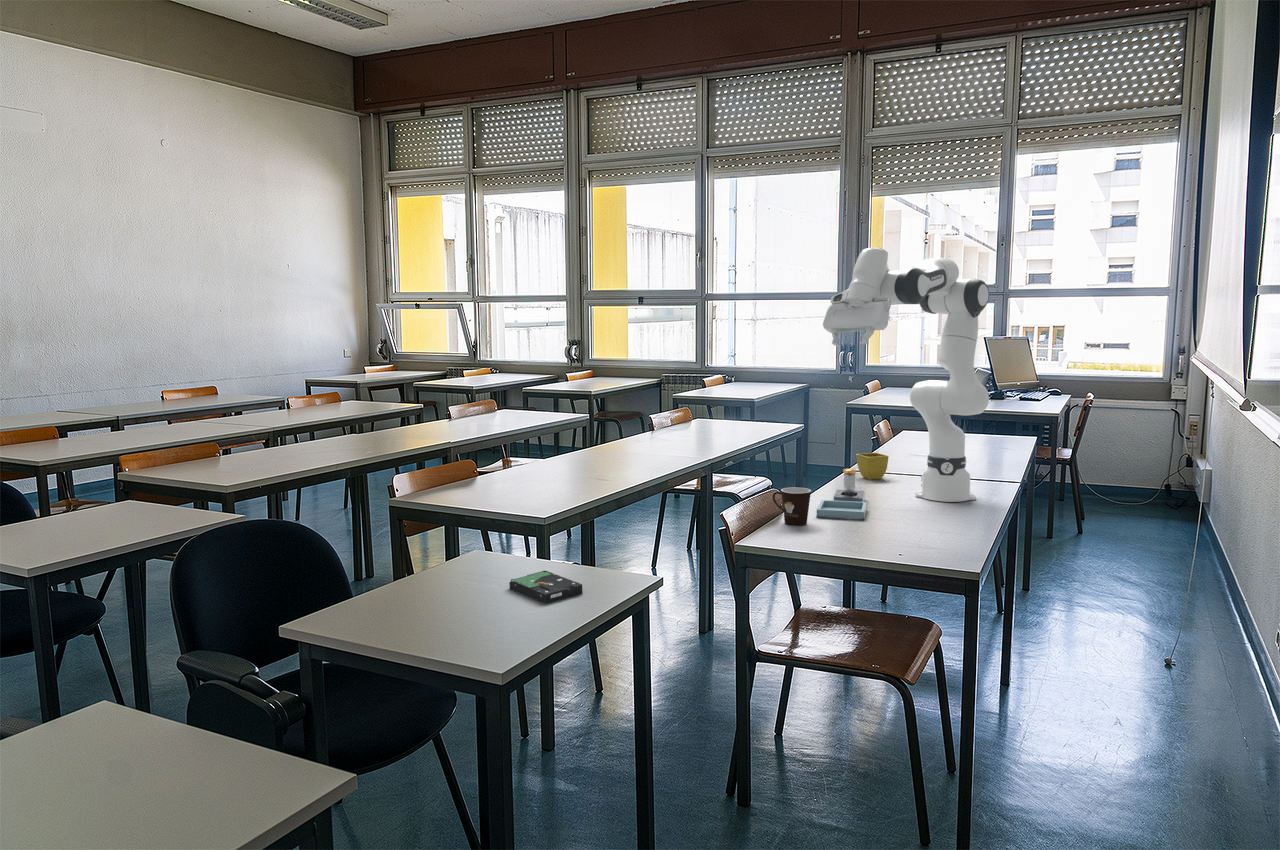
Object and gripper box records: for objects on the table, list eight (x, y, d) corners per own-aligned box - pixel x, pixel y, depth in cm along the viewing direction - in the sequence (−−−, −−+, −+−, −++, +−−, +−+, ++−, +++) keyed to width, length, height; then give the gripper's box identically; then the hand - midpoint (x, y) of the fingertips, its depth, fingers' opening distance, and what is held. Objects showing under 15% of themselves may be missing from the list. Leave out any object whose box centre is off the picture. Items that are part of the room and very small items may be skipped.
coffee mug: (816, 525, 248) (816, 491, 246) (790, 528, 244) (791, 494, 243) (794, 516, 258) (795, 484, 257) (770, 519, 255) (770, 487, 254)
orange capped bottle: (843, 501, 279) (843, 468, 277) (856, 501, 278) (856, 468, 276) (842, 503, 275) (842, 470, 274) (855, 504, 274) (855, 471, 272)
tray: (821, 507, 270) (821, 499, 270) (866, 509, 266) (866, 502, 266) (816, 517, 257) (816, 509, 257) (864, 520, 253) (864, 512, 252)
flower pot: (855, 477, 320) (855, 453, 319) (875, 475, 323) (875, 452, 321) (868, 481, 312) (868, 457, 311) (888, 479, 314) (889, 455, 313)
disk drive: (583, 596, 190) (545, 580, 201) (583, 584, 189) (545, 569, 200) (545, 606, 183) (508, 590, 194) (545, 594, 182) (507, 578, 193)
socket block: (836, 498, 283) (836, 489, 283) (864, 499, 280) (864, 490, 280) (833, 506, 272) (833, 496, 272) (862, 507, 269) (862, 498, 269)
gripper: (898, 302, 235) (886, 347, 232) (839, 307, 251) (827, 349, 248) (886, 291, 231) (873, 338, 229) (826, 297, 247) (814, 340, 245)
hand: (848, 344), depth 239 cm, fingers open, 8 cm apart
